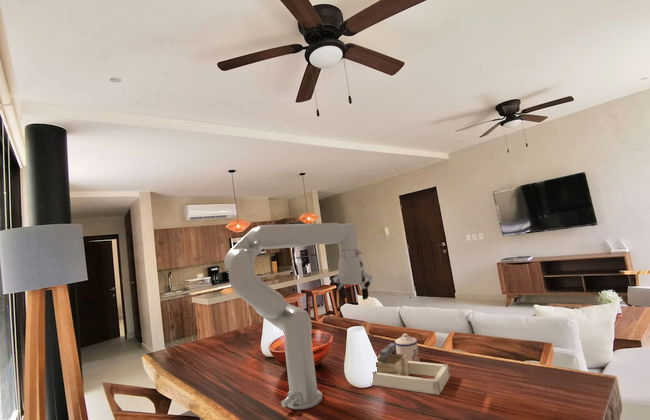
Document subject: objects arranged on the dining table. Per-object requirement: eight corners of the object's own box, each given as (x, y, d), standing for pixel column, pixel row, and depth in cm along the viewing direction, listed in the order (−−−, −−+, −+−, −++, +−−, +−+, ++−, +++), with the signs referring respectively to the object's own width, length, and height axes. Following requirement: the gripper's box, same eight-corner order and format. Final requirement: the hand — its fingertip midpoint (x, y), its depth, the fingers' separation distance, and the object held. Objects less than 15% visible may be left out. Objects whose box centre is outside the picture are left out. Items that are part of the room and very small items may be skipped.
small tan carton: (399, 385, 114) (395, 353, 115) (373, 382, 119) (369, 351, 120) (409, 374, 122) (405, 344, 123) (384, 371, 127) (380, 342, 128)
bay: (439, 399, 103) (436, 381, 104) (370, 388, 116) (368, 373, 117) (451, 378, 117) (448, 362, 117) (388, 370, 130) (386, 356, 130)
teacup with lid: (417, 368, 129) (413, 337, 130) (395, 366, 133) (391, 337, 134) (424, 357, 139) (420, 328, 140) (403, 355, 144) (399, 328, 145)
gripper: (373, 252, 128) (378, 297, 126) (336, 255, 138) (340, 297, 136) (364, 254, 122) (370, 301, 120) (325, 257, 132) (330, 300, 130)
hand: (354, 298), depth 128 cm, fingers open, 9 cm apart
